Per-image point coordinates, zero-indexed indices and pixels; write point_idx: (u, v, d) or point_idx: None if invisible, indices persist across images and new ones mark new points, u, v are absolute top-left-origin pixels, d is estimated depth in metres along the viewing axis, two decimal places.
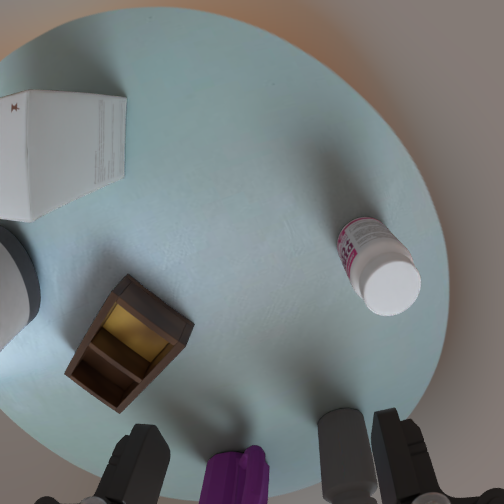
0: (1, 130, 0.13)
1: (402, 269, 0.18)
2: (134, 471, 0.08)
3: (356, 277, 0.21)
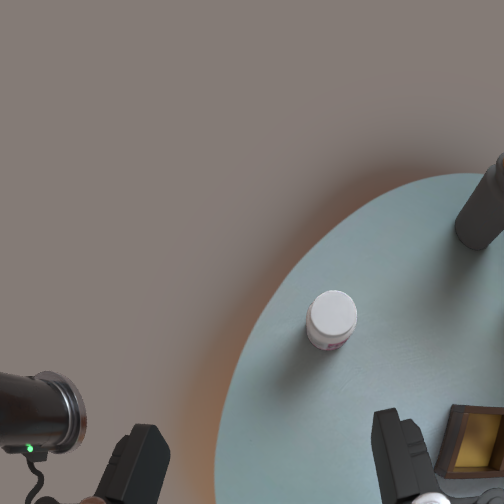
0: None
1: (317, 316, 0.27)
2: (134, 471, 0.08)
3: (343, 336, 0.27)
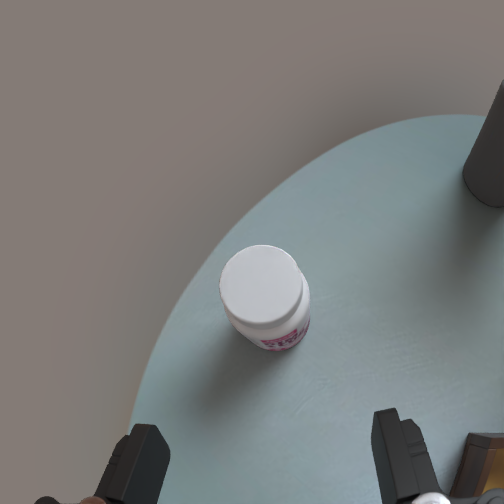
0: None
1: (230, 288, 0.15)
2: (134, 471, 0.08)
3: (283, 326, 0.16)
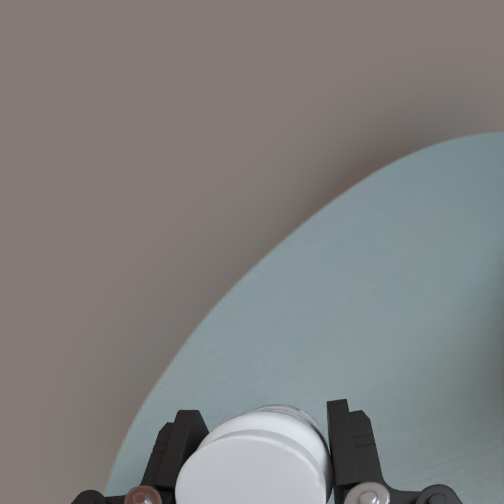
0: None
1: None
2: (183, 457, 0.09)
3: None
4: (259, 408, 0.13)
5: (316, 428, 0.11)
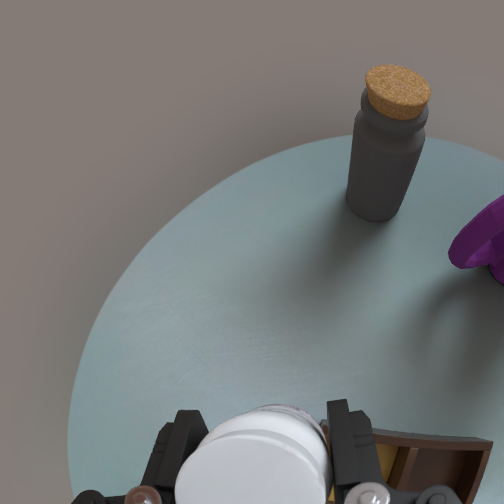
0: None
1: None
2: (183, 457, 0.09)
3: None
4: (259, 408, 0.13)
5: (316, 428, 0.11)
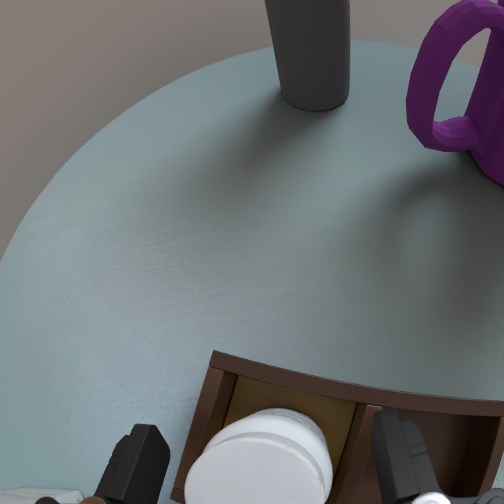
0: None
1: (202, 503, 0.07)
2: (134, 471, 0.08)
3: None
4: (262, 410, 0.13)
5: (316, 430, 0.11)
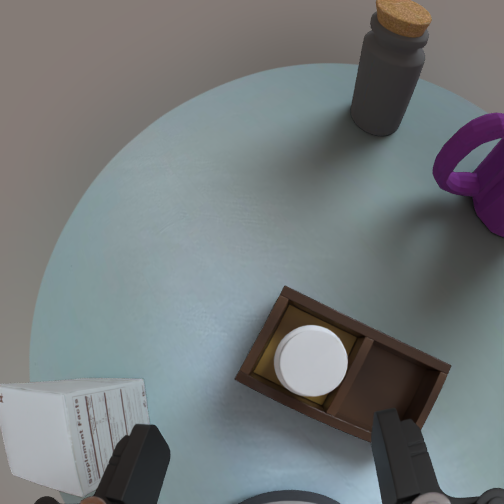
0: (12, 416, 0.15)
1: (288, 363, 0.18)
2: (134, 471, 0.08)
3: None
4: None
5: None
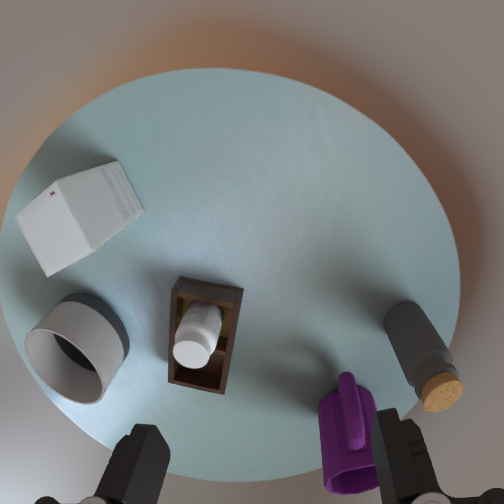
0: (50, 210, 0.24)
1: (185, 344, 0.32)
2: (134, 471, 0.08)
3: None
4: (219, 319, 0.38)
5: None
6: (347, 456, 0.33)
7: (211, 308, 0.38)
